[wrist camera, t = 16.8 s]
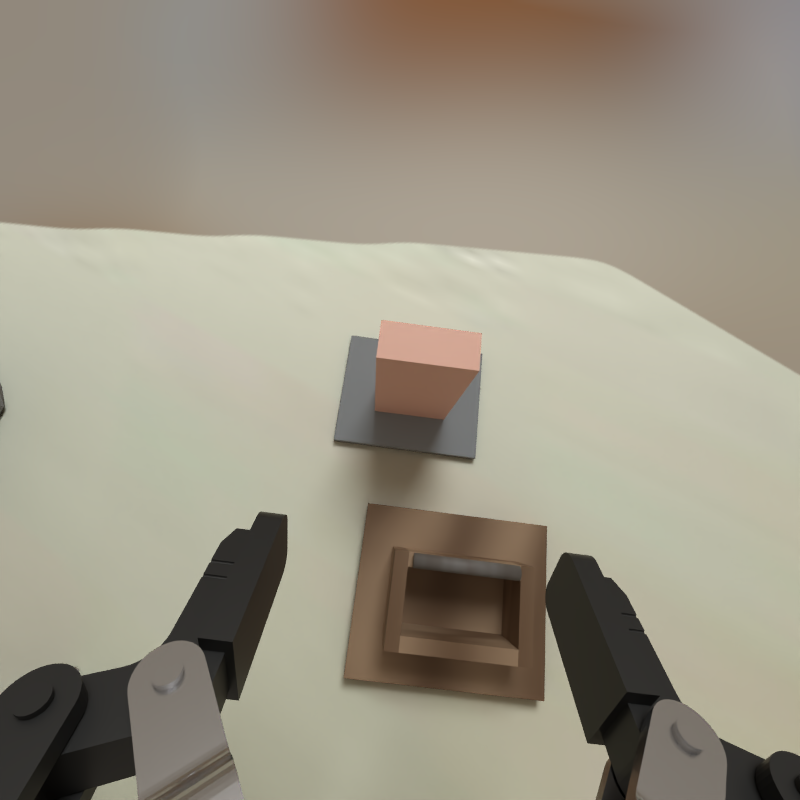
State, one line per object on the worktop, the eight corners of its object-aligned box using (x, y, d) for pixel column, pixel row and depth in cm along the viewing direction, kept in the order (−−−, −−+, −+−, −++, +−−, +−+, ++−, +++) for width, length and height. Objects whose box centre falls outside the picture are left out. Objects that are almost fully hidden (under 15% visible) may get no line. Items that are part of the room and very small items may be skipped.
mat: (480, 356, 31) (482, 353, 30) (473, 458, 29) (475, 458, 28) (352, 338, 31) (351, 335, 30) (334, 440, 28) (333, 439, 28)
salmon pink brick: (446, 393, 29) (481, 333, 20) (443, 419, 29) (479, 371, 19) (378, 384, 29) (381, 319, 20) (374, 410, 29) (376, 357, 19)
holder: (540, 526, 28) (574, 527, 23) (537, 693, 25) (575, 734, 20) (368, 503, 27) (367, 500, 23) (344, 671, 24) (338, 707, 20)
